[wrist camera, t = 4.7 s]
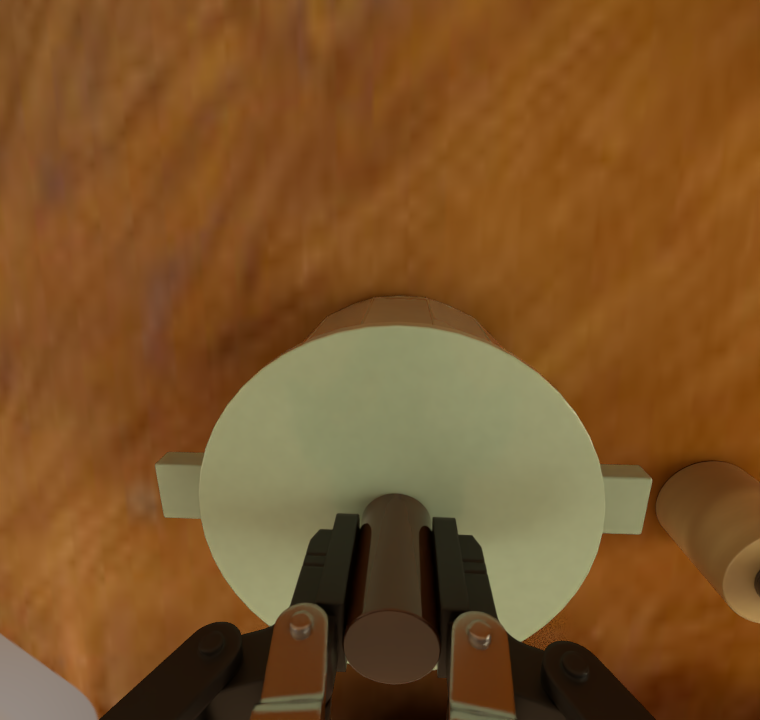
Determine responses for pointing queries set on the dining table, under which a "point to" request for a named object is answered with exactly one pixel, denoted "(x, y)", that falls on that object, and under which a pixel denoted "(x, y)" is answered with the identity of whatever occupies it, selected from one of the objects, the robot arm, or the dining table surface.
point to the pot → (621, 482)
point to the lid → (402, 483)
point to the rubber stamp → (717, 529)
